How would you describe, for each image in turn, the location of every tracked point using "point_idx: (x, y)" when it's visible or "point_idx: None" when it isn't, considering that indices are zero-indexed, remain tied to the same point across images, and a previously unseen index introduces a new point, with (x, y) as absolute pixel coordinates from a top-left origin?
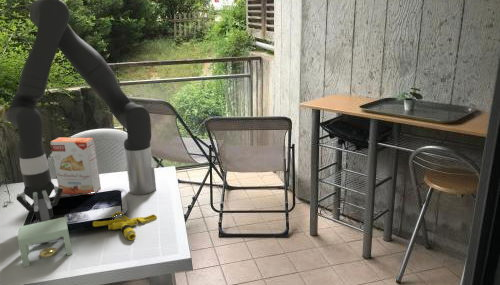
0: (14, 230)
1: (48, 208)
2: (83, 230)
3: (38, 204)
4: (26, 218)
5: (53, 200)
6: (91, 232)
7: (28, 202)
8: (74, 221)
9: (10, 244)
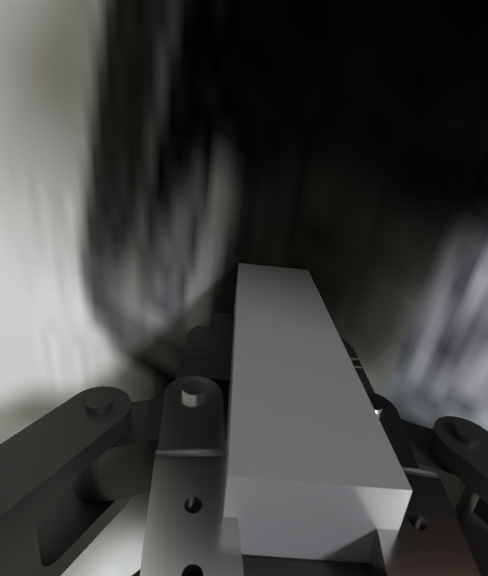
0: (12, 293)
1: None
2: None
3: None
4: (94, 76)
5: (452, 471)
6: None
7: (65, 468)
8: (456, 405)
9: None
